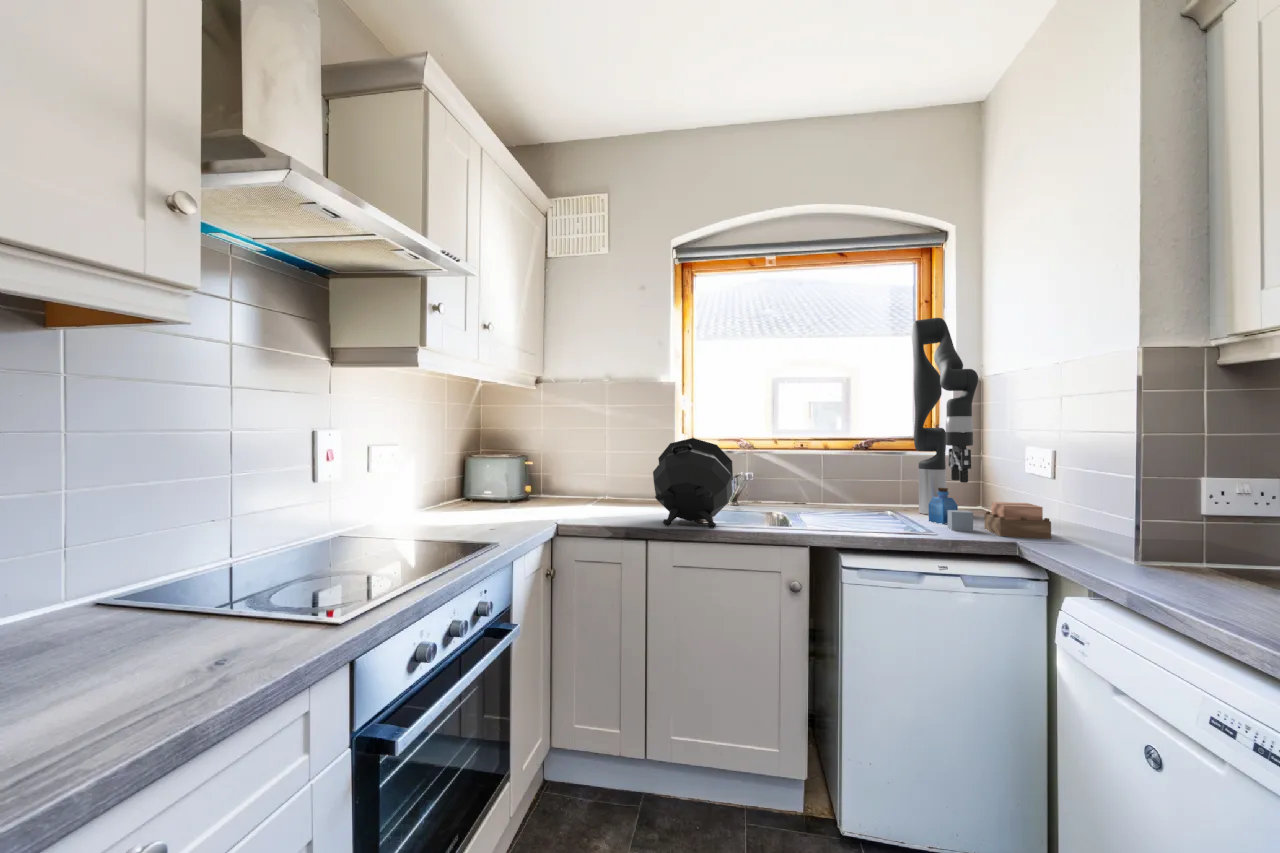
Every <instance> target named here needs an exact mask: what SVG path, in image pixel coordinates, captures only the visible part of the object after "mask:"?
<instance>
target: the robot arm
mask: <svg viewBox="0 0 1280 853" xmlns="http://www.w3.org/2000/svg"><path fill="white" fill-rule="evenodd" d="M938 343H939V344H938ZM911 344H912V354H913V396H914V398H913V399H914V428H913V429H914V430H913V431H914V432H913V433H914V434H913V443H914V448H915V450H916V451H918V452H936V453H935V454H934V455H933V456H931V457H930V458H927V459H923V460H920V461H919V462H918V513H919V514H923V515H929V503H930V501H931V500H932V499H933V497H938V494H937V491H938V488H947V486H946V485H947V482H946V481H947V480H946V478H947V476H946V475H947V474H946V466H947V464H946V452H947V451H946V450H947V448H946V446H950V447H952V448H948V467H949V468H950V470H951V474H950V477H951V478H950V480H951V481H959V482H960V483H966V484H967V483H969V471H970V469H972V450H971V449H970V448H967V447H972V446H973V445H974V421H973V401H974V396H975V393H976V389H977V387H978V383H979V376H978V373H977V371H976V370H974V369H972V368H964V363H963V361H962V360H963V359H961V358H960V357H961V356H960V355H959V354H958V352H957V351H956V349H955V347H954V343H953V339H952V337H951V333H950V330H949V327H948V325H947V322H946V321H945V319H943V318H941V317H932V318H924V319H918V320H914V321H913V322H912V325H911ZM934 344H938V346H937V348H936V349H935V351H934V353H933V359H934V363H935V365H936V366H937V368H938V370H939V372H938V370H937V369H936V368H935V366H934V365H933V364H932V362H931V361H930V360H929V359H928V356H927V355H926V352H925V347H924V346H925V345H934ZM942 389H943V390H945V391H947V392H948V391H949V392H961V395H960V396H959V397H958V396H957V397H952V398H950V399H947V401H946V420H945V428H943V427H924V425H925V422H926V420H927V418H928V416H929V415H930V413H931V412H932V410H933V409H934V408H935V406H936V405H937V404H938V403H939V401H940V399H941V397H942V392H943V391H942Z"/></svg>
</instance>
